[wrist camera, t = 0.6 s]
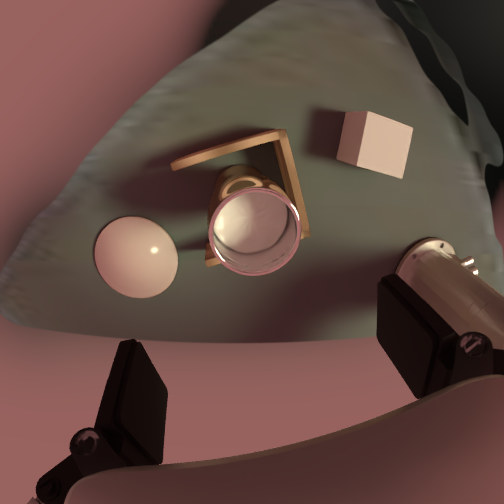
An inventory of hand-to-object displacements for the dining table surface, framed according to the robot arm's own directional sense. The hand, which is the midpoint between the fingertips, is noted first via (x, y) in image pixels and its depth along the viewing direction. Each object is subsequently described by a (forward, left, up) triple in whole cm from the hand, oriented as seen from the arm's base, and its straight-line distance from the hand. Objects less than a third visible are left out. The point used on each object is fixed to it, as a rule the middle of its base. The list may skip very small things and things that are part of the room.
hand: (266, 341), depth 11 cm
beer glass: (-1, 0, -26) cm, 26 cm away
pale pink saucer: (+14, +4, -26) cm, 30 cm away
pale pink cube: (-17, -2, -27) cm, 32 cm away
